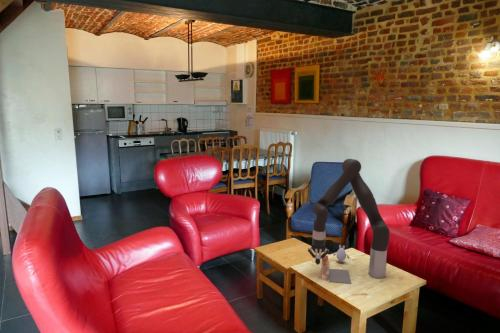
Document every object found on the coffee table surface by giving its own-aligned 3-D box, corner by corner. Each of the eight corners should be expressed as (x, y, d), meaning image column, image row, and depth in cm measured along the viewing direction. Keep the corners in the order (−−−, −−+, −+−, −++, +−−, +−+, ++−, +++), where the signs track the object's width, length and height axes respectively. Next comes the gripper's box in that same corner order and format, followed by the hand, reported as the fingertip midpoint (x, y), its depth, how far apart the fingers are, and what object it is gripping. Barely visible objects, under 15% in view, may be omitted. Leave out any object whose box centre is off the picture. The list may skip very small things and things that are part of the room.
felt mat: (348, 270, 222) (348, 270, 222) (351, 283, 207) (351, 283, 207) (327, 269, 224) (327, 268, 224) (329, 282, 209) (329, 281, 209)
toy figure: (349, 262, 234) (351, 245, 232) (348, 266, 229) (349, 248, 226) (333, 258, 239) (334, 242, 236) (331, 262, 233) (332, 245, 231)
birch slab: (326, 270, 222) (327, 255, 220) (328, 280, 211) (329, 264, 209) (321, 270, 223) (321, 255, 221) (322, 279, 211) (322, 264, 209)
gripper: (329, 235, 215) (328, 262, 219) (307, 233, 217) (306, 260, 221) (330, 240, 208) (329, 267, 212) (307, 238, 210) (306, 266, 213)
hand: (317, 264), depth 216 cm, fingers closed
